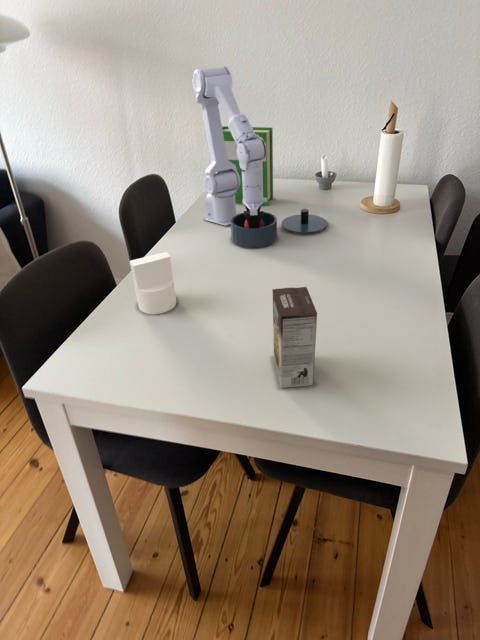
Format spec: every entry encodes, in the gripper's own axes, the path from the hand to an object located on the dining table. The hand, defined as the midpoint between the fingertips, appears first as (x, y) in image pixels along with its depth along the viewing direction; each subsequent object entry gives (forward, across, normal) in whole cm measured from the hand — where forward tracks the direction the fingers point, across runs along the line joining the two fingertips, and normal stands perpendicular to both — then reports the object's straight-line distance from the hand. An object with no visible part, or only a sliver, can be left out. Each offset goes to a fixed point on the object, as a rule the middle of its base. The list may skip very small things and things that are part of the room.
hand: (254, 229), depth 140 cm
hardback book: (+3, +33, +2) cm, 33 cm away
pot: (+3, 0, 0) cm, 3 cm away
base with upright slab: (+3, -35, +24) cm, 42 cm away
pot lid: (+2, +8, -16) cm, 18 cm away
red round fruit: (+3, 0, 0) cm, 3 cm away
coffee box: (+3, -61, -6) cm, 62 cm away
